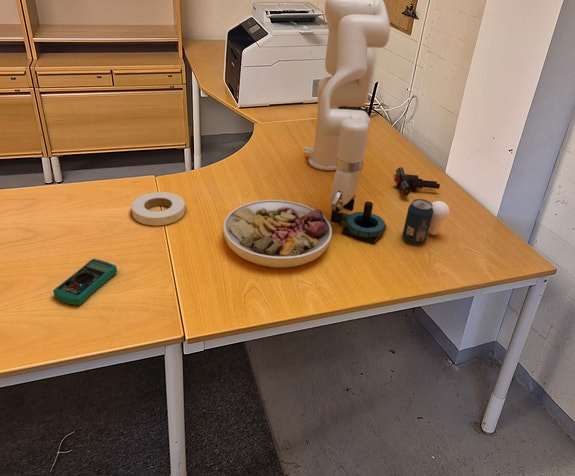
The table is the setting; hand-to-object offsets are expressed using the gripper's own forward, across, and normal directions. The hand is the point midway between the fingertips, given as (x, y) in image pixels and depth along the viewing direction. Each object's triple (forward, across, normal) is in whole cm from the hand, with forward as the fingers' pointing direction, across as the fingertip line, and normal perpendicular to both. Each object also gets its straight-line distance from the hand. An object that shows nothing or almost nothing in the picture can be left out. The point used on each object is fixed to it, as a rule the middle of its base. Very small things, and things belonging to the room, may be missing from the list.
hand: (341, 215), depth 154 cm
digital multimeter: (+3, +61, -40) cm, 73 cm away
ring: (+1, 0, +6) cm, 6 cm away
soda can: (+3, -4, +22) cm, 22 cm away
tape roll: (+3, +25, -48) cm, 55 cm away
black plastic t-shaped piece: (+3, -36, +13) cm, 38 cm away
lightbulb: (+3, -10, +26) cm, 28 cm away
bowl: (+3, +19, -11) cm, 22 cm away
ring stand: (+3, 0, +8) cm, 8 cm away
